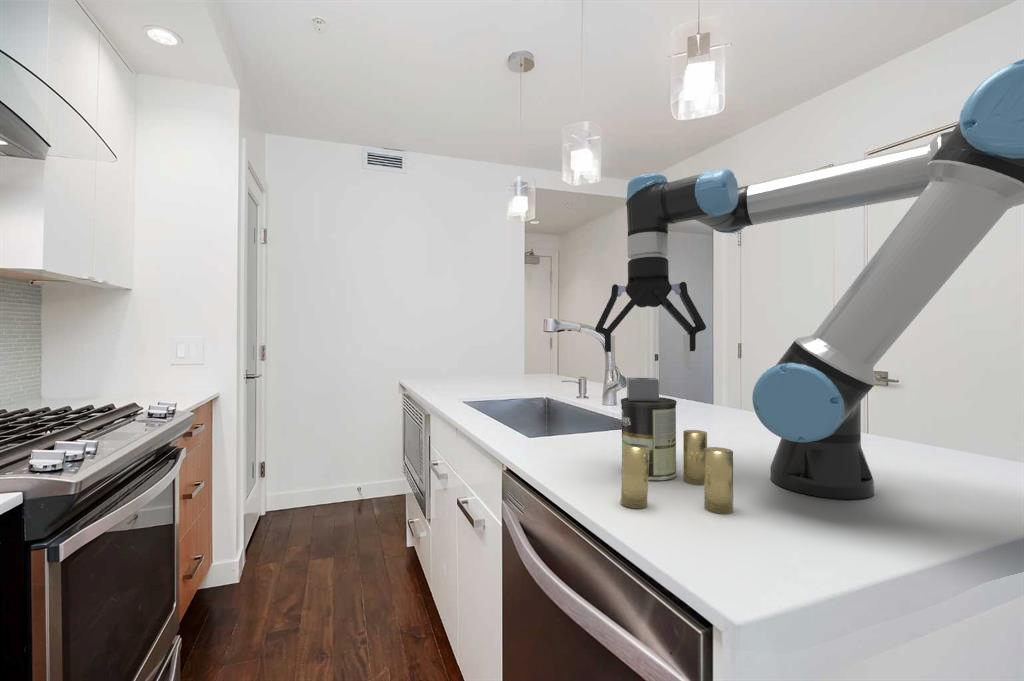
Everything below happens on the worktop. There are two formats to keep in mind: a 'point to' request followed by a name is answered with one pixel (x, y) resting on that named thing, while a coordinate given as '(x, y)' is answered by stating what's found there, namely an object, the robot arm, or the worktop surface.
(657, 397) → the grey square block
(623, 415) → the coffee can
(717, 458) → the brass spacer
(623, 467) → the brass spacer
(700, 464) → the brass spacer
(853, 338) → the robot arm
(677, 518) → the worktop surface
